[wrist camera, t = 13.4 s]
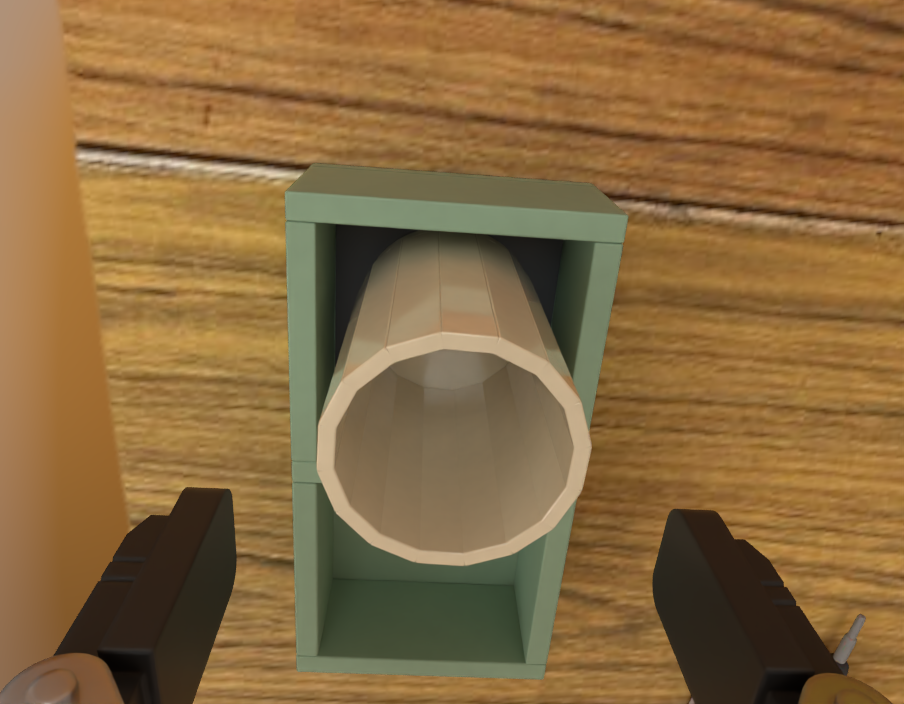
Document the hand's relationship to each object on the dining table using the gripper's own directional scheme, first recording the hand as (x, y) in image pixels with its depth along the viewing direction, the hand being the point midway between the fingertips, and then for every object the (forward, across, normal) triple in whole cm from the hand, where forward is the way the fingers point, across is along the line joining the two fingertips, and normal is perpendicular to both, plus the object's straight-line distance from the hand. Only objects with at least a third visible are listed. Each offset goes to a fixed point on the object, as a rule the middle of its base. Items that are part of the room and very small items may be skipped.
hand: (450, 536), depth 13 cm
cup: (+12, 0, 0) cm, 12 cm away
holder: (+12, 0, +4) cm, 13 cm away
